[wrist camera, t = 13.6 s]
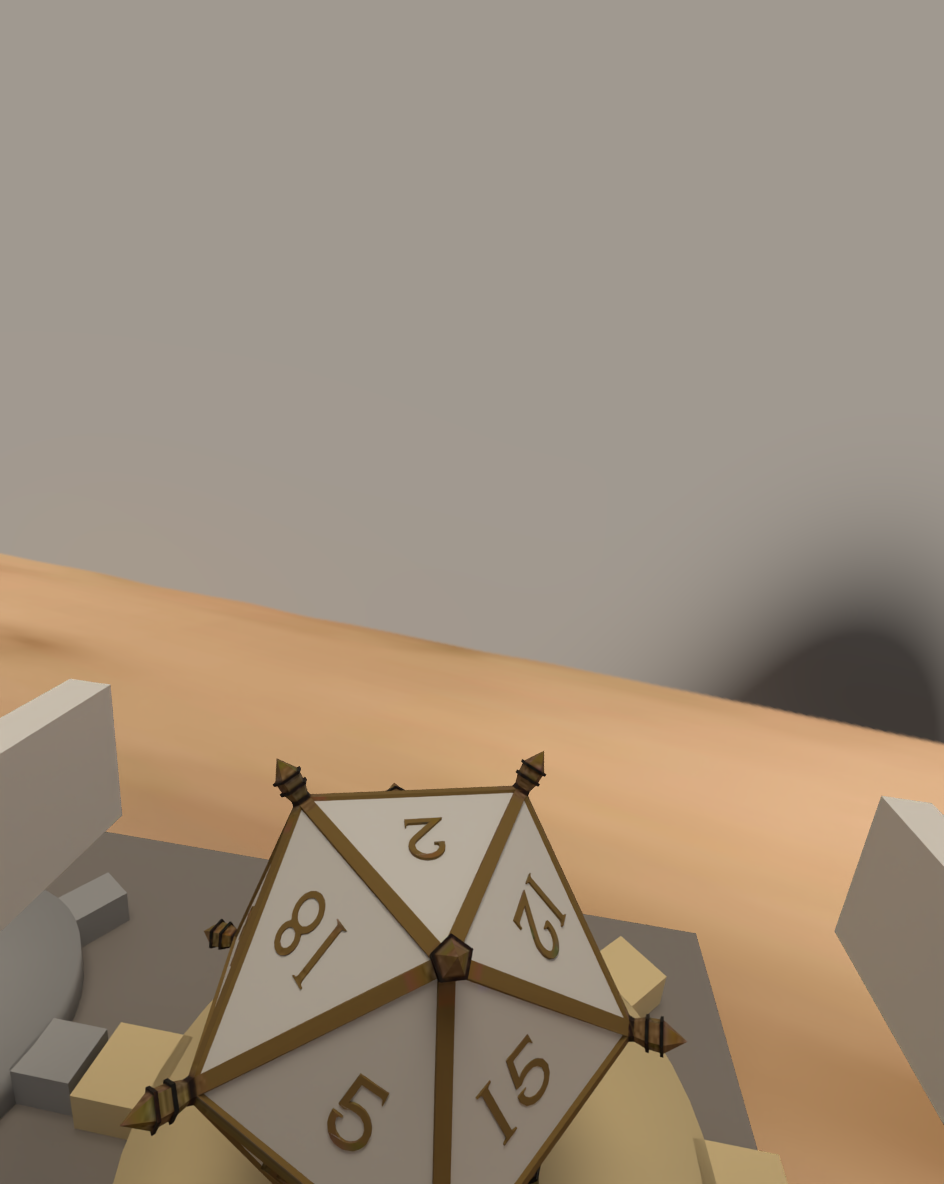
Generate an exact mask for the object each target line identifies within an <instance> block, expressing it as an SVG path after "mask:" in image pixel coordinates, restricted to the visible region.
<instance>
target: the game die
mask: <svg viewBox="0 0 944 1184" xmlns="http://www.w3.org/2000/svg"><path fill="white" fill-rule="evenodd" d="M521 762H522V763H523V764H522V766H521V768H520V770H517V771H516V773H518V775H517V779H516V783H515V784H514V785H513V786H497V787H473V788H449V789H426V790H404V789H402V788H400V787H399V786H398V785H396V784H395V783H394V784H393V785H392V786H391V787H390V788H389V789H388V790H387V791H378V792H354V793H330V794H309V792H308V791H307V788H306V781H307V779H306V777H304V778H303V777H302V775H301V773H300V770H301V768H300V766H299V767H294V766H292V765H290V764H288V763H286V762H284V761H281V760H279V759H277V764H276V781H275V783H274V784H273V786H274V787H276V786H278V788H279V789H280V791H281V792H282V793H281V794H280V796H281V797H286V798H288V799H289V800H290V801H291V802H292V804H293V809H292V811H291V813H290V815H289V817H288V820H287V822H286V824H285V826H284V828H283V830H282V833H281V835H280V837H279V839H278V841H277V844H276V846H275V848H274V850H273V852H272V854H271V857H270V859H269V861H268V863H267V865H266V868H265V870H264V872H263V874H262V876H261V878H260V881H259V883H258V885H257V887H256V889H255V892H254V894H253V896H252V898H251V900H250V902H249V905H248V907H247V909H246V911H245V913H244V916H243V918H242V920H241V922H240V924H239V926H238V929H236V927H235V926H234V925H233V923H232V922H229V923H225V921H224V920H223V919H220V921H219V922H218V923H217V924H215V925H213V926H212V927H210V928H208V929H206V930H204V933H205V935H206V937H207V939H208V941H209V948H215V947H218V950H222V949H227V948H230V950H229V953H228V956H227V959H226V962H225V965H224V968H223V971H222V974H221V977H220V980H219V984H218V987H217V990H216V993H215V996H214V999H213V1002H212V1005H211V1008H210V1011H209V1014H208V1017H207V1020H206V1023H205V1026H204V1029H203V1032H202V1035H201V1038H200V1042H199V1045H198V1048H197V1051H196V1054H195V1057H194V1060H193V1063H192V1066H191V1069H190V1072H189V1075H188V1076H187V1077H186V1078H184V1079H183V1080H178V1081H172V1080H170V1079H168V1078H167V1079H164V1080H163V1084H162V1085H160V1086H157V1087H155V1088H153V1087H151V1086H147V1087H145V1094H144V1095H143V1096H142V1098H141V1099H140V1100H139V1102H138V1103H137V1104H136V1105H135V1107H134V1108H133V1109H132V1111H131V1112H130V1113H129V1114H128V1116H127V1117H126V1118H125V1120H124V1121H123V1122H122V1123H121V1125H120V1126H122V1127H128V1128H134V1129H140V1130H145V1131H150V1133H151V1136H153V1135H154V1134H156V1132H157V1130H158V1128H159V1127H160V1126H162V1125H164V1124H165V1123H167V1122H168V1123H169V1125H171V1124H173V1123H174V1121H175V1119H176V1117H177V1115H178V1114H179V1113H180V1112H181V1111H182V1110H184V1109H185V1108H186V1107H188V1106H193V1105H194V1106H195V1107H196V1108H197V1109H198V1110H199V1111H200V1112H201V1113H202V1114H203V1115H204V1116H205V1117H206V1118H207V1119H208V1120H209V1121H210V1122H211V1123H212V1124H213V1125H214V1126H215V1127H216V1128H217V1129H218V1130H219V1131H220V1132H221V1133H222V1134H223V1135H224V1136H225V1137H226V1138H227V1139H228V1140H229V1141H230V1142H231V1143H232V1144H233V1145H234V1146H235V1147H236V1148H237V1149H238V1150H239V1151H240V1152H241V1153H242V1154H243V1155H244V1156H245V1157H246V1158H247V1159H248V1160H249V1161H250V1162H251V1163H252V1164H253V1165H254V1166H255V1167H256V1168H257V1169H258V1170H259V1171H260V1172H261V1173H262V1174H263V1175H264V1176H265V1177H266V1178H267V1179H268V1180H269V1181H270V1182H271V1183H272V1184H539V1172H540V1167H541V1164H542V1163H543V1162H544V1160H545V1159H546V1157H547V1156H548V1154H549V1153H550V1152H551V1150H552V1149H553V1147H554V1146H555V1145H556V1143H557V1142H558V1140H559V1139H560V1138H561V1136H562V1135H563V1133H564V1132H565V1131H566V1129H567V1128H568V1126H569V1125H570V1124H571V1122H572V1121H573V1119H574V1118H575V1117H576V1115H577V1114H578V1112H579V1111H580V1110H581V1108H582V1107H583V1105H584V1104H585V1103H586V1101H587V1100H588V1098H589V1097H590V1096H591V1094H592V1093H593V1091H594V1090H595V1089H596V1087H597V1086H598V1084H599V1083H600V1082H601V1080H602V1079H603V1077H604V1076H605V1075H606V1073H607V1072H608V1070H609V1069H610V1068H611V1066H612V1065H613V1063H614V1062H615V1061H616V1059H617V1058H618V1056H619V1055H620V1054H621V1052H622V1051H623V1049H624V1048H625V1047H626V1045H627V1044H628V1042H635V1043H637V1044H639V1045H640V1046H642V1047H644V1048H645V1052H646V1053H649V1050H651V1051H655V1052H658V1053H660V1057H662V1058H663V1054H664V1053H666V1052H668V1051H670V1050H672V1049H674V1048H676V1047H678V1046H680V1045H682V1044H684V1043H686V1042H687V1041H686V1040H685V1039H684V1038H683V1037H682V1036H681V1035H680V1034H679V1033H677V1032H676V1031H675V1030H674V1029H673V1028H672V1027H671V1026H670V1025H669V1024H668V1023H667V1022H665V1021H664V1016H661V1017H660V1019H656V1018H650V1014H646V1017H642V1018H634V1017H632V1016H630V1015H629V1013H628V1010H627V1008H626V1006H625V1004H624V1002H623V1000H622V997H621V995H620V993H619V991H618V989H617V987H616V985H615V982H614V980H613V978H612V976H611V974H610V972H609V969H608V967H607V965H606V963H605V961H604V959H603V957H602V954H601V952H600V950H599V948H598V946H597V944H596V941H595V939H594V937H593V935H592V933H591V931H590V929H589V926H588V924H587V922H586V920H585V918H584V916H583V913H582V911H581V909H580V907H579V905H578V903H577V901H576V898H575V896H574V894H573V892H572V890H571V888H570V885H569V883H568V881H567V879H566V877H565V875H564V873H563V870H562V868H561V866H560V864H559V862H558V860H557V857H556V855H555V853H554V851H553V849H552V847H551V845H550V842H549V840H548V838H547V836H546V834H545V832H544V829H543V827H542V825H541V823H540V821H539V819H538V817H537V814H536V812H535V810H534V808H533V806H532V804H531V801H530V799H529V797H528V794H529V792H530V791H531V790H532V789H533V788H534V787H535V786H539V785H540V784H539V783H538V782H539V780H540V779H541V777H542V776H544V777H545V776H546V774H545V773H544V751H543V752H541V753H539V754H537V755H535V756H533V757H531V758H529V759H527V760H525V761H524V760H523V759H522V761H521Z"/></svg>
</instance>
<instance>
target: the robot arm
mask: <svg viewBox="0 0 944 1184" xmlns="http://www.w3.org/2000/svg"><path fill="white" fill-rule="evenodd" d="M121 816H122V808H121V797H120V786H119V775H118V764H117V753H116V742H115V730H114V719H113V708H112V697H111V686H110V685H109V684H102V683H95V682H88V681H81V680H74V679H69V680H67V681H65V682H64V683H62V684H60V685H58V686H56V687H55V688H53V689H51V690H49V691H48V692H46V693H44V694H42V695H40V696H39V697H37V698H35V699H33V700H31V701H30V702H28V703H26V704H24V705H23V706H21V707H19V708H17V709H15V710H14V711H12V712H10V713H8V714H7V715H5V716H3V717H1V718H0V932H1V931H2V930H3V929H4V928H5V927H6V926H7V925H8V924H9V923H10V922H11V921H12V920H13V919H14V918H15V917H16V916H17V915H18V914H19V913H20V912H22V911H23V910H24V909H25V908H26V907H27V906H28V905H29V904H30V903H31V902H32V901H33V900H34V899H35V898H36V897H37V896H38V895H39V894H40V893H41V892H42V891H44V890H45V889H46V888H47V887H48V886H49V885H50V884H51V883H52V882H53V881H54V880H55V879H56V878H57V877H58V876H59V875H60V874H61V873H62V872H63V871H64V870H66V869H67V868H68V867H69V866H70V865H71V864H72V863H73V862H74V861H75V860H76V859H77V858H78V857H79V856H80V855H81V854H82V853H83V852H84V851H85V850H86V849H87V848H89V847H90V846H91V845H92V844H93V843H94V842H95V841H96V840H97V839H98V838H99V837H100V836H101V835H102V834H103V833H104V832H105V831H106V830H107V829H108V828H109V827H111V826H112V825H113V824H114V823H115V822H116V821H117V820H118V819H119V818H120V817H121ZM835 933H836V935H837V936H838V938H839V940H840V942H841V943H842V945H843V947H844V949H845V951H846V952H847V954H848V956H849V958H850V959H851V961H852V963H853V965H854V967H855V968H856V970H857V972H858V974H859V975H860V977H861V979H862V981H863V982H864V984H865V986H866V988H867V990H868V991H869V993H870V995H871V997H872V998H873V1000H874V1002H875V1004H876V1006H877V1007H878V1009H879V1011H880V1013H881V1014H882V1016H883V1018H884V1020H885V1021H886V1023H887V1025H888V1027H889V1029H890V1030H891V1032H892V1034H893V1036H894V1037H895V1039H896V1041H897V1043H898V1045H899V1046H900V1048H901V1050H902V1052H903V1053H904V1055H905V1057H906V1059H907V1061H908V1062H909V1064H910V1066H911V1068H912V1069H913V1071H914V1073H915V1075H916V1076H917V1078H918V1080H919V1082H920V1084H921V1085H922V1087H923V1089H924V1091H925V1092H926V1094H927V1096H928V1098H929V1100H930V1101H931V1103H932V1105H933V1107H934V1108H935V1110H936V1112H937V1114H938V1115H939V1117H940V1119H941V1121H942V1123H943V1124H944V815H943V814H942V813H941V812H940V811H939V810H938V809H937V808H936V807H935V806H934V805H933V804H932V803H927V802H920V801H913V800H906V799H899V798H892V797H885V796H881V799H880V801H879V804H878V807H877V810H876V813H875V816H874V819H873V822H872V825H871V827H870V830H869V833H868V836H867V839H866V842H865V845H864V848H863V850H862V853H861V856H860V859H859V862H858V865H857V868H856V871H855V874H854V876H853V879H852V882H851V885H850V888H849V891H848V894H847V897H846V900H845V902H844V905H843V908H842V911H841V914H840V917H839V920H838V923H837V926H836V928H835Z"/></svg>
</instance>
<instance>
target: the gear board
mask: <svg viewBox="0 0 944 1184" xmlns="http://www.w3.org/2000/svg"><path fill="white" fill-rule="evenodd" d="M268 861H269V860H267V859H261V858H255V857H249V856H243V855H237V854H232V853H226V852H220V851H214V850H208V849H203V848H197V847H191V846H185V845H179V844H174V843H168V842H162V841H156V840H150V839H145V838H139V837H133V836H127V835H121V834H115V833H110V832H104V833H103V834H102V835H101V836H100V837H99V838H98V839H97V840H96V841H95V842H94V843H93V844H92V845H91V846H90V847H89V848H87V849H86V850H85V851H84V852H83V853H82V854H81V855H80V856H79V857H78V858H77V859H76V860H75V861H74V862H73V863H72V864H71V865H70V866H69V867H68V868H67V869H66V870H64V871H63V872H62V873H61V874H60V875H59V876H58V877H57V878H56V879H55V880H54V881H53V882H52V883H51V884H50V885H49V886H48V887H47V888H46V889H45V890H44V891H42V892H41V893H40V894H39V895H38V896H37V897H36V898H35V899H34V900H33V901H32V902H31V903H30V904H29V905H28V906H27V907H26V908H25V909H24V910H23V911H22V912H20V913H19V914H18V915H17V916H16V917H15V918H14V919H13V920H12V921H11V922H10V923H9V924H8V925H7V926H6V927H5V928H4V929H3V930H2V931H1V932H0V1184H272V1183H271V1182H270V1181H269V1180H268V1179H267V1178H266V1177H265V1176H264V1175H263V1174H262V1173H261V1172H260V1171H259V1170H258V1169H257V1168H256V1167H255V1166H254V1165H253V1164H252V1163H251V1162H250V1161H249V1160H248V1159H247V1158H246V1157H245V1156H244V1155H243V1154H242V1153H241V1152H240V1151H239V1150H238V1149H237V1148H236V1147H235V1146H234V1145H233V1144H232V1143H231V1142H230V1141H229V1140H228V1139H227V1138H226V1137H225V1136H224V1135H223V1134H222V1133H221V1132H220V1131H219V1130H218V1129H217V1128H216V1127H215V1126H214V1125H213V1124H212V1123H211V1122H210V1121H209V1120H208V1119H207V1118H206V1117H205V1116H204V1115H203V1114H202V1113H201V1112H200V1111H199V1110H198V1109H197V1108H196V1107H195V1106H194V1105H193V1106H188V1107H186V1108H185V1109H184V1110H182V1111H181V1112H180V1113H179V1114H178V1115H177V1117H176V1119H175V1121H174V1123H173V1124H171V1125H169V1123H168V1122H167V1123H165V1124H164V1125H162V1126H160V1127H159V1128H158V1130H157V1132H156V1134H154V1135H153V1136H151V1133H150V1131H145V1130H140V1129H134V1128H128V1127H122V1126H120V1125H121V1123H122V1122H123V1121H124V1120H125V1118H126V1117H127V1116H128V1114H129V1113H130V1112H131V1111H132V1109H133V1108H134V1107H135V1105H136V1104H137V1103H138V1102H139V1100H140V1099H141V1098H142V1096H143V1095H144V1094H145V1087H147V1086H151V1087H153V1088H155V1087H157V1086H160V1085H162V1084H163V1080H164V1079H167V1078H168V1079H170V1080H172V1081H178V1080H183V1079H184V1078H186V1077H187V1076H188V1075H189V1072H190V1069H191V1066H192V1063H193V1060H194V1057H195V1054H196V1051H197V1048H198V1045H199V1042H200V1038H201V1035H202V1032H203V1029H204V1026H205V1023H206V1020H207V1017H208V1014H209V1011H210V1008H211V1005H212V1002H213V999H214V996H215V993H216V990H217V987H218V984H219V980H220V977H221V974H222V971H223V968H224V965H225V962H226V959H227V956H228V953H229V950H230V948H227V949H222V950H218V947H215V948H209V941H208V939H207V937H206V935H205V933H204V930H206V929H208V928H210V927H212V926H213V925H215V924H217V923H218V922H219V921H220V919H223V920H224V921H225V923H229V922H232V923H233V925H234V926H235V927H236V929H238V926H239V924H240V922H241V920H242V918H243V916H244V913H245V911H246V909H247V907H248V905H249V902H250V900H251V898H252V896H253V894H254V892H255V889H256V887H257V885H258V883H259V881H260V878H261V876H262V874H263V872H264V870H265V868H266V865H267V863H268ZM583 916H584V918H585V920H586V922H587V924H588V926H589V929H590V931H591V933H592V935H593V937H594V939H595V941H596V944H597V946H598V948H599V950H600V952H601V954H602V957H603V959H604V961H605V963H606V965H607V967H608V969H609V972H610V974H611V976H612V978H613V980H614V982H615V985H616V987H617V989H618V991H619V993H620V995H621V997H622V1000H623V1002H624V1004H625V1006H626V1008H627V1010H628V1013H629V1015H630V1016H632V1017H634V1018H642V1017H646V1014H650V1018H656V1019H660V1017H661V1016H664V1021H665V1022H667V1023H668V1024H669V1025H670V1026H671V1027H672V1028H673V1029H674V1030H675V1031H676V1032H677V1033H679V1034H680V1035H681V1036H682V1037H683V1038H684V1039H685V1040H686V1041H687V1042H686V1043H684V1044H682V1045H680V1046H678V1047H676V1048H674V1049H672V1050H670V1051H668V1052H666V1053H664V1054H663V1058H662V1057H660V1053H658V1052H655V1051H651V1050H649V1053H646V1052H645V1048H644V1047H642V1046H640V1045H639V1044H637V1043H635V1042H628V1044H627V1045H626V1047H625V1048H624V1049H623V1051H622V1052H621V1054H620V1055H619V1056H618V1058H617V1059H616V1061H615V1062H614V1063H613V1065H612V1066H611V1068H610V1069H609V1070H608V1072H607V1073H606V1075H605V1076H604V1077H603V1079H602V1080H601V1082H600V1083H599V1084H598V1086H597V1087H596V1089H595V1090H594V1091H593V1093H592V1094H591V1096H590V1097H589V1098H588V1100H587V1101H586V1103H585V1104H584V1105H583V1107H582V1108H581V1110H580V1111H579V1112H578V1114H577V1115H576V1117H575V1118H574V1119H573V1121H572V1122H571V1124H570V1125H569V1126H568V1128H567V1129H566V1131H565V1132H564V1133H563V1135H562V1136H561V1138H560V1139H559V1140H558V1142H557V1143H556V1145H555V1146H554V1147H553V1149H552V1150H551V1152H550V1153H549V1154H548V1156H547V1157H546V1159H545V1160H544V1162H543V1163H542V1164H541V1167H540V1172H539V1184H788V1182H787V1179H786V1176H785V1173H784V1169H783V1166H782V1163H781V1160H780V1157H779V1155H778V1154H773V1153H768V1152H763V1151H758V1150H757V1146H756V1143H755V1139H754V1136H753V1132H752V1129H751V1125H750V1122H749V1118H748V1115H747V1111H746V1108H745V1104H744V1101H743V1097H742V1094H741V1090H740V1087H739V1083H738V1080H737V1076H736V1073H735V1069H734V1066H733V1062H732V1059H731V1055H730V1052H729V1048H728V1045H727V1041H726V1038H725V1034H724V1031H723V1027H722V1024H721V1020H720V1017H719V1013H718V1010H717V1006H716V1003H715V999H714V995H713V992H712V988H711V985H710V981H709V978H708V974H707V971H706V967H705V964H704V960H703V957H702V953H701V950H700V946H699V943H698V939H697V936H696V933H690V932H685V931H679V930H673V929H667V928H661V927H656V926H650V925H644V924H638V923H632V922H627V921H621V920H615V919H609V918H603V917H598V916H592V915H586V914H583Z"/></svg>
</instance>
